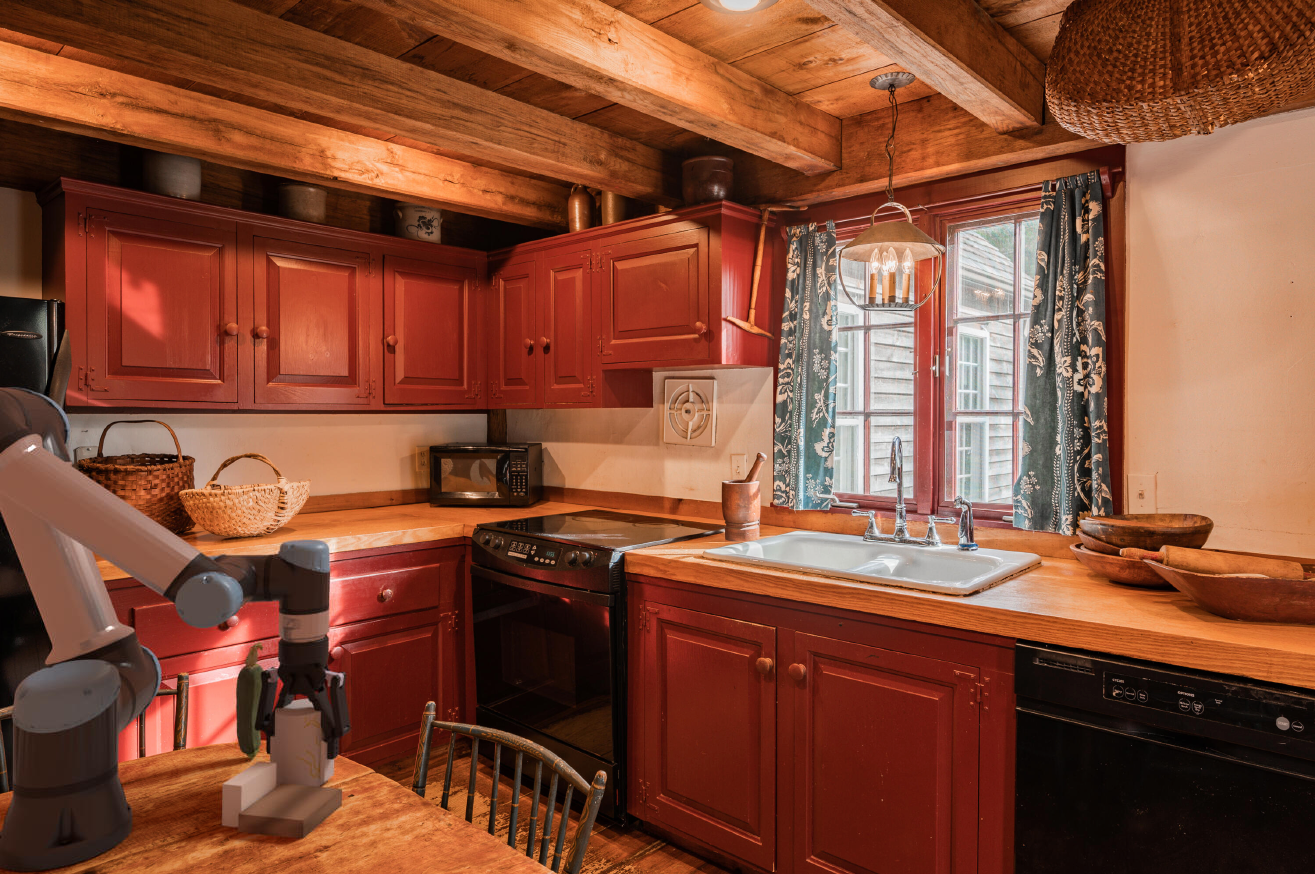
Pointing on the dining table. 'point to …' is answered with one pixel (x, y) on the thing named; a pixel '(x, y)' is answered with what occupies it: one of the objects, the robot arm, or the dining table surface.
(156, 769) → the dining table surface
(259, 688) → the vegetable
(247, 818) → the board
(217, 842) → the dining table surface
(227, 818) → the block
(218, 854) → the dining table surface
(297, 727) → the grey cylinder
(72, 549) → the robot arm
